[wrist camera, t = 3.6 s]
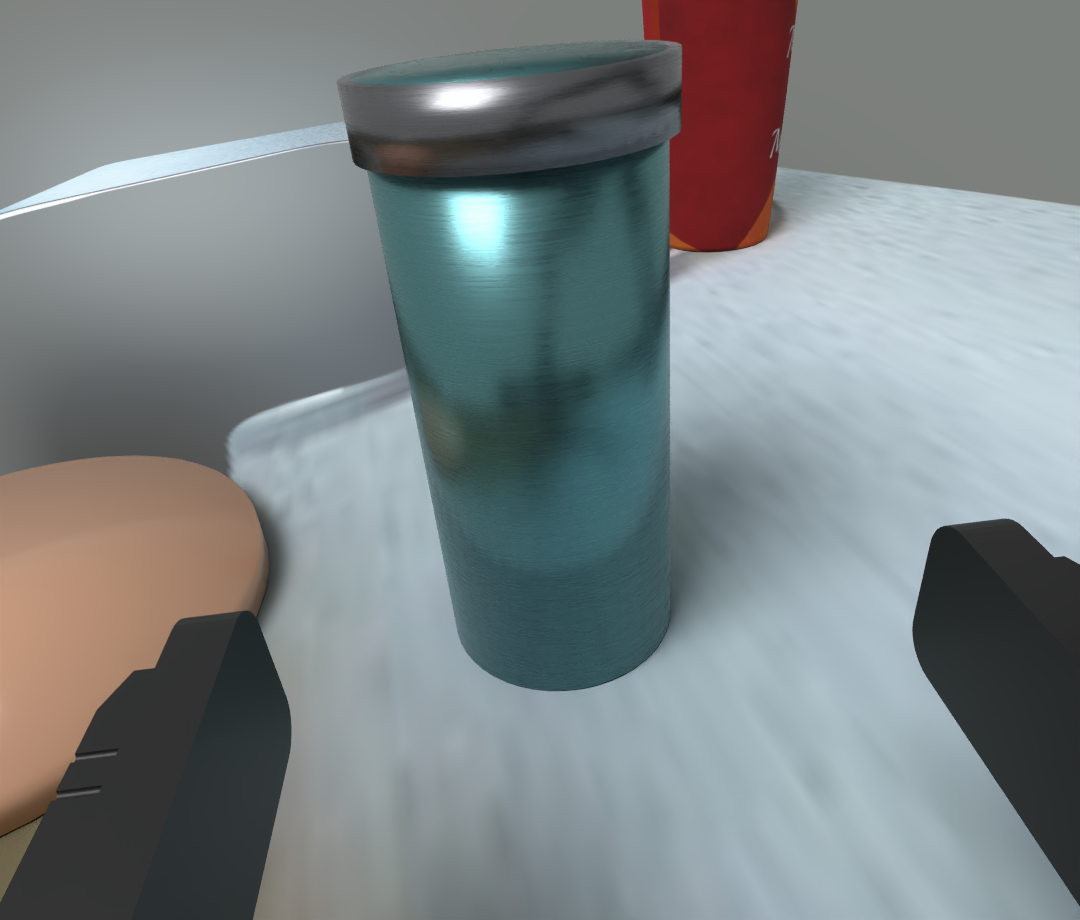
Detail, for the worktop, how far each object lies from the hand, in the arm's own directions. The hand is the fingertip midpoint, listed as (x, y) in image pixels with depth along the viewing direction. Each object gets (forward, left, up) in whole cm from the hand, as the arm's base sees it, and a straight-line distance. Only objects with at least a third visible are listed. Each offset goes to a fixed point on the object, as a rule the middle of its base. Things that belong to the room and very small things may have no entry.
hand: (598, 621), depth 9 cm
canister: (-6, -4, -7) cm, 10 cm away
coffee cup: (-36, -11, -7) cm, 38 cm away
